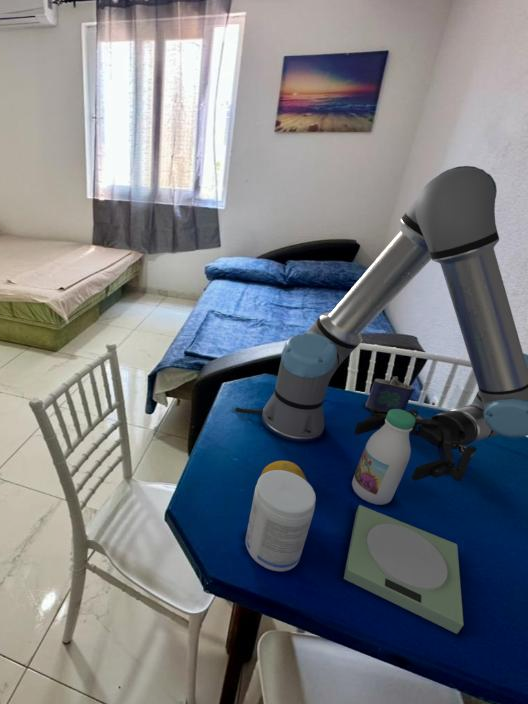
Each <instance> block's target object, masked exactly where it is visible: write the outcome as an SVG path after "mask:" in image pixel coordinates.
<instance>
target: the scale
mask: <svg viewBox="0 0 528 704" xmlns="http://www.w3.org/2000/svg"><path fill="white" fill-rule="evenodd" d="M348 548H349V549H348V553H347V558H346V564H345V569H344V575H343V580H345V581H347V582H349V583H352V584H353V585H356V586H358V587H360V588H362V589H364V590H365V591H368V592H369V593H372V594H373V595H376V596H378V597H379V598H382V599H384V600H386V601H388V602H390V603H392V604H394V605H397V606H399V607H401V608H403V609H404V610H407V611H409V612H411V613H413V614H415V615H417V616H419V617H421V618H423V619H425V620H427V621H429V622H431V623H433V624H436V625H438V626H440V627H442V628H444V629H446V630H448V631H450V632H451V633H453V634H456V635H458V634H459V632H460V631H461V630H462V628H463V627H464V624H465V623H464V613H463V599H462V587H461V576H460V575H461V573H460V560H459V550H458V544H457V543H455V542H452V541H451V540H447V539H446V538H443V537H440V536H437V535H435V534H433V533H430V532H428V531H426V530H423V529H420V528H418V527H415V526H413V525H411V524H408V523H406V522H403V521H400V520H398V519H396V518H394V517H390V516H388V515H386V514H383V513H381V512H378V511H376V510H373V509H371V508H369V507H366V506H364V505H361V504H359V505H358V507H357V510H356V512H355V517H354V521H353V527H352V533H351V537H350V543H349V547H348Z"/></svg>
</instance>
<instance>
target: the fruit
mask: <svg viewBox="0 0 528 704" xmlns="http://www.w3.org/2000/svg"><path fill="white" fill-rule="evenodd" d="M273 470H283V471H288V472H291V473H294V474H296V475H298V476H300V477H301V478H303V479H304V480H306V481H307V478H306V475H305V473H304V472H303V470H302V469H301V468H300V466H299V465H297V464H296V463H294V462H291V461H289V460H276V461H273V462H271V463H269V464H267V465H266V466H265V467H264V468H263V470H262V471H261V474H260V476H261V475H263V474H264V473H266V472H268V471H273Z"/></svg>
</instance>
